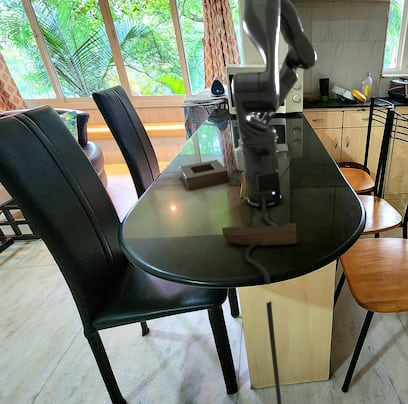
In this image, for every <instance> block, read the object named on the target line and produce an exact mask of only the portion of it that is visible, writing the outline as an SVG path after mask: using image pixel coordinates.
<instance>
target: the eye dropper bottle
mask: <svg viewBox="0 0 408 404" xmlns="http://www.w3.org/2000/svg"><path fill="white" fill-rule="evenodd" d="M237 141H238V147H237V148H235V149H234V154H235V155H234V156H235V161H236V169H237V170H238V171H239V172H243V171H244V164H243V156H242V148H241V140H240V139H239V140H237Z"/></svg>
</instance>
